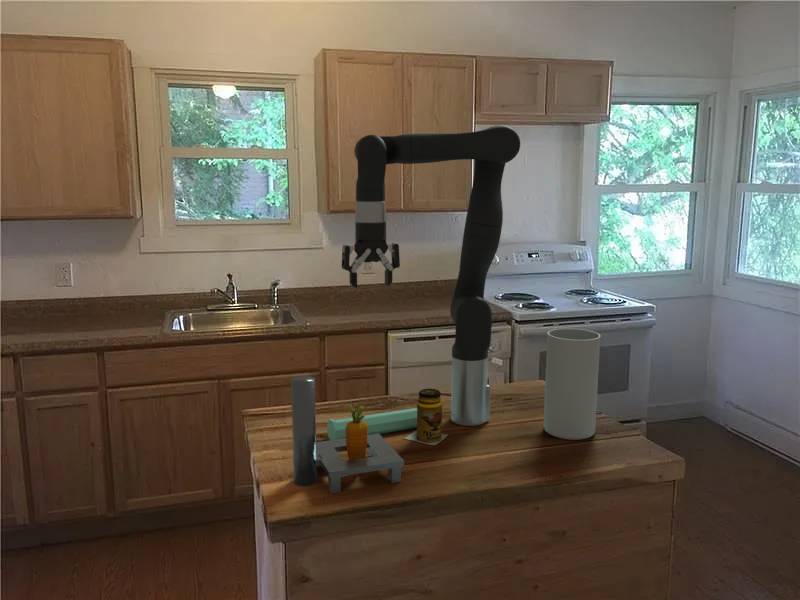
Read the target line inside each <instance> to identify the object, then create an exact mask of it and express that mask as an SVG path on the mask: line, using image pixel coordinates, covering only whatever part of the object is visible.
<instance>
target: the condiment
mask: <svg viewBox="0 0 800 600" xmlns="http://www.w3.org/2000/svg"><path fill="white" fill-rule="evenodd" d="M441 398H442V397H441V391H440V390H439V389H436V388H423V389H420V390H419V391H418V401H417V403H416V408H417V428H416V429H415V431H412V432H411V434H408V435H407V436H406V437H404V438H403V439H405V440H409V441H414V442H417V443H422V444H426V445H431V446H437V445H438V444H439V443H440V442H442V441H443V440H444V439H446V438H447V436H448V435H449V434H445V433H443V431H442V429H443V414H442V413H443V403H442V401H441V400H442V399H441Z"/></svg>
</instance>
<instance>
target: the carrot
mask: <svg viewBox="0 0 800 600" xmlns="http://www.w3.org/2000/svg"><path fill="white" fill-rule="evenodd" d="M348 407H349V408H348V409H349V411H350V413H351V418H353V420H352V421H349V422H348V423H347V425H346V448H347V451H346V452H347V456H348V460H354V459H361V458H366V453H367V449H368V448H367V438H368V424H367V423H366V422H364V421H362V420H361V419H363V418H364V417H365V416H366V415H365V414H363V415H362V413H363V411H364V406H363V405H362V406H361V405H360V406H359V408H358V410H356V408H353V405H352V404H351V405H349V406H348ZM360 416H361V417H360ZM355 417H356V418H355ZM359 417H360V418H359Z"/></svg>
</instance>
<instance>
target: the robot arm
mask: <svg viewBox="0 0 800 600" xmlns="http://www.w3.org/2000/svg"><path fill="white" fill-rule="evenodd" d="M520 148H521V139H520V136H519V134H518V133H517V132H516V131H515V129H513V128H512V127H510V126H508V125H503V124H501V125H499V124H498V125H494V126H490V127H488V128H485V129H483V130H477V131H470V132H469V131H468V132H457V133H456V132H455V133H449V132H448V133H446V132H445V133H441V132H440V133H434V132H433V133H427V132H426V133H423V132H422V133H402V134H398V135H395V136H394V135H393V136H392V135H391V136H390V135H389V136H384V135H383V136H380V135H379V136H378V135H377V134H367V135H365V136H363V137H361V138H360V139H359V140H358V141H357V142H356V143H355V146H354V149H353V150H354V155H355V156H354V157H355V158H356V161H357V179H356V184H355V210H354V216H355V217H354V219H355V220H354V227H355V229H354V230H355V233H354V234H355V241H354V244H353V245H348V244H343V245H342V251H341V252H342V254H341V269H342V270H345V271H347V272H348V273H349V284H350V286H352V288H354V289H357V288H358V272H357V271H358V269H360V267H361V266H362V264H363V263H366V264H367V263H372V262H373V263H379V262H380V264H381V265H383V267H384V269H385V270H384V285H385V286H387V287H388V286H391V284H392V283H393V272H394V270H395V269H399V268H400V267H401V264H400V263H401V260H400V259H401V258H400V246H399V244H398V243H394V242H392V243H389V244H388V243H387V220H388V219H387V216H388V215H387V207H386V181H385V180H386V179H385V177H386V172H387V171H386V170H387V165H394V164H402V165H413V164H415V165H417V164H431V163H439V162H440V163H441V162H448V161H459V160H474V168H473V180H472V186H471V191H470V196H469V200H468V201H469V202H468V205H467V206H468V207H467V211H466V212H467V213H466V217H465V221H464V229H463V236H462V243H461V244H462V245H461V251H460V262H459V270H458V276H457V281H456V284H455V288H454V292H453V295H452V299H451V302H450V303H451V304H450V309H449V312H450V316H451V319H452V320H453V322H454V324H455V337H454V343H453V345H452V346H451V388H450V389H451V393H450V394H451V396H450V397H451V399H450V420H451V422H453V423H454V424H457V425H460V426H469V427H470V426H471V427H473V426H481V425H482V424H484V423H487V422H490V413H491V412H490V409H491V408H490V407H491V386H490V385H489V384H488V364H489V363H488V362H489V361H488V360H489V358H488V357H489V349H490V348H491V342H492V324H493V321H492V319H493V318H492V317H493V316H492V309H491V308H492V307H490V304H489V303H488V302H487V300H485V299H484V298H485V297H484V296H485V287H486V286H485V285H486V279H487V275H488V272H489V269H490V268H491V265H492V263H493V261H494V258H495V255H497V251H498V248H499V244H500V241H501V236H502V235H501V234H502V229H503V228H502V227H503V221H504V219H503V218H504V217H503V214H504V210H503V200H502V181H503V175H504V170H505V166H506V164H507V163H509V162H511V161H512V160H513V159H515V158H516V156H517V155H518V154H519V152H520ZM388 251H389V252H390V254H391V255H390V256H391V263H390V261H389V259H388V258H387V256H386V255H385V254H386V253H387V252H388ZM353 252H354V253H355V254H356V256H355V258H354V259H353V261H352V262H351V263H350V260H351V259H350V256H351V255H352V254H353ZM350 264H351V265H350Z"/></svg>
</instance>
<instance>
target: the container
mask: <svg viewBox="0 0 800 600" xmlns="http://www.w3.org/2000/svg"><path fill="white" fill-rule="evenodd" d="M361 416H362V415H360V417H361ZM364 416H365V417H364V418H363V419H361V420H362V421H364V422H366V423H367V424H368V435H371V434H380V435H382V434H389V433H393V432H399V431H405V430H411V429H415V428H416V429H417V407H415V408H413V407H412V408H408V409H401V410H394V411H389V412H381V413H375V414H373V413H372V414H368V415H364ZM360 417H359V418H360ZM355 418H356V416H355ZM352 420H353V418H352V417H348V418H346V417H345V418H340V419H334V418H329V419H328V421H327V422H326V423H327V424H326V433H327V436H328V441H329V440H336V439H343V438H346V425H347V423H348V422H349V421H352Z"/></svg>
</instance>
